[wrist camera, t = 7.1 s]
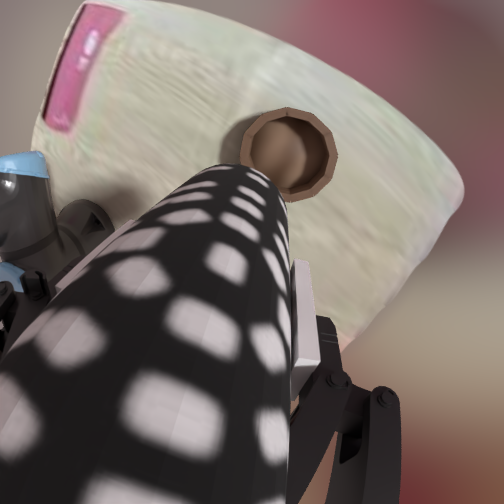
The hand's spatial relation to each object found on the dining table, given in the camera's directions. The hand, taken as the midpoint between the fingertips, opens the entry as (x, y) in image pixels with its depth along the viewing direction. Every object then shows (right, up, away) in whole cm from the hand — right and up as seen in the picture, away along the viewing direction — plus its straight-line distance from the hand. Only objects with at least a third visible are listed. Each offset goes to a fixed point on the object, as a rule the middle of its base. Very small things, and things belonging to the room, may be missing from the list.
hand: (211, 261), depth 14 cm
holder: (+8, +16, +25) cm, 31 cm away
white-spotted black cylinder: (+1, +3, +6) cm, 7 cm away
